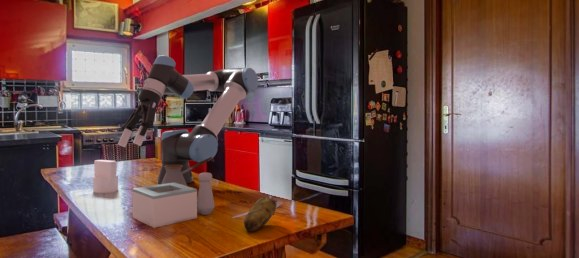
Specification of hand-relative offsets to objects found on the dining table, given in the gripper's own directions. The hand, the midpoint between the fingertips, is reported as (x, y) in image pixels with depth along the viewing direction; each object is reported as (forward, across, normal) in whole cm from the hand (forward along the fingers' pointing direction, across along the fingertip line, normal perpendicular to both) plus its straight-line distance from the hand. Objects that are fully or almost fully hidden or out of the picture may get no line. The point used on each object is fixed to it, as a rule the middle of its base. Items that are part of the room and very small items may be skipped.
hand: (128, 145), depth 140 cm
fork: (+12, +39, +33) cm, 52 cm away
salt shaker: (+16, +29, +21) cm, 39 cm away
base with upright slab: (+16, -25, +8) cm, 31 cm away
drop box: (+21, +25, +10) cm, 35 cm away
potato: (+17, +52, +25) cm, 60 cm away
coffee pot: (+12, +9, +24) cm, 29 cm away
